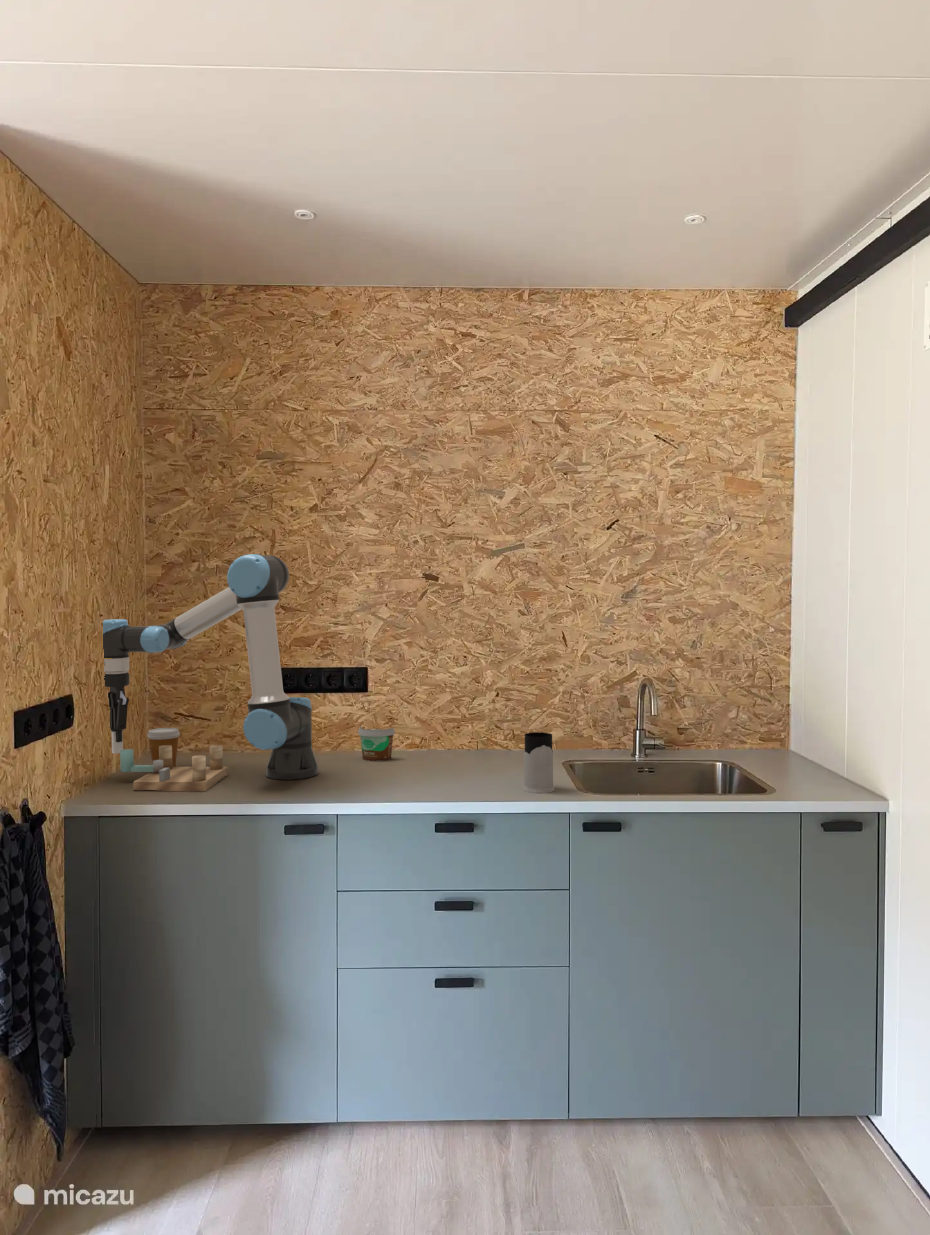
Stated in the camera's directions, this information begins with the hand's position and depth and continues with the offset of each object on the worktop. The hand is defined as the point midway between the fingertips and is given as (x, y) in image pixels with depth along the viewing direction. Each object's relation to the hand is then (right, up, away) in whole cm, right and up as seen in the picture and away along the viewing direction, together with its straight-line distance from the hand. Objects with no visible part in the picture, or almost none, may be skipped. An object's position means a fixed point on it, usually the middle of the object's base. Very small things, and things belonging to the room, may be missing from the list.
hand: (117, 752), depth 266 cm
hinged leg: (+9, -5, -5) cm, 11 cm away
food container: (+72, -6, +24) cm, 76 cm away
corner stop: (+19, -5, -14) cm, 24 cm away
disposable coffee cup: (+10, -7, +11) cm, 17 cm away
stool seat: (+21, -8, -7) cm, 23 cm away
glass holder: (+121, -7, -15) cm, 122 cm away
